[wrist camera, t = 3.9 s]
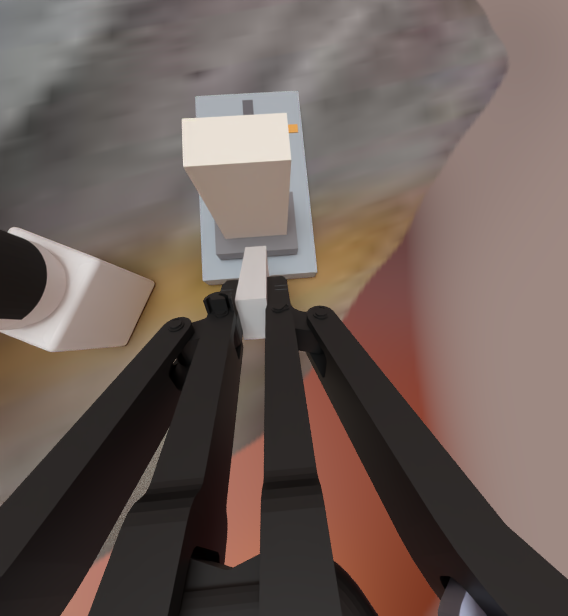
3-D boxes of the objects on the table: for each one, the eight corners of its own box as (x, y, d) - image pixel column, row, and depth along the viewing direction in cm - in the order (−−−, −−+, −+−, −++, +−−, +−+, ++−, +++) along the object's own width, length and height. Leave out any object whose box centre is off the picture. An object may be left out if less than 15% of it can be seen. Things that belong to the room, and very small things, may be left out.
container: (95, 258, 24) (-120, 171, 11) (157, 282, 24) (11, 222, 11) (62, 321, 23) (-213, 307, 10) (127, 347, 23) (-71, 365, 10)
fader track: (209, 285, 24) (202, 280, 22) (201, 114, 26) (194, 95, 24) (314, 276, 24) (317, 271, 22) (296, 108, 27) (298, 89, 25)
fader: (220, 259, 22) (165, 193, 11) (217, 205, 23) (163, 96, 12) (296, 254, 22) (311, 183, 12) (291, 200, 23) (301, 89, 12)
